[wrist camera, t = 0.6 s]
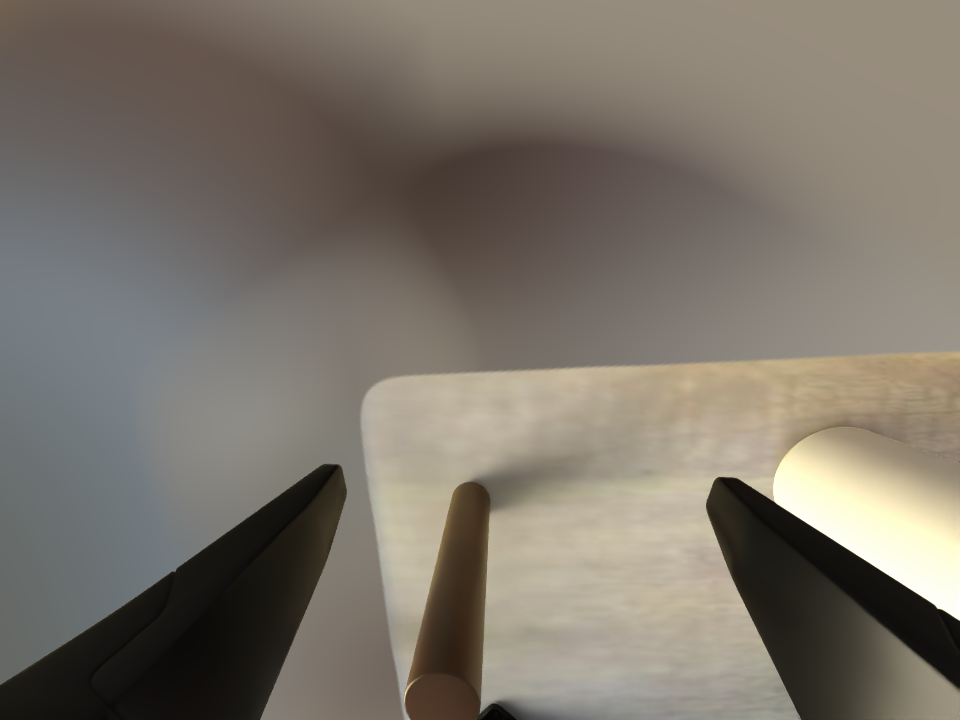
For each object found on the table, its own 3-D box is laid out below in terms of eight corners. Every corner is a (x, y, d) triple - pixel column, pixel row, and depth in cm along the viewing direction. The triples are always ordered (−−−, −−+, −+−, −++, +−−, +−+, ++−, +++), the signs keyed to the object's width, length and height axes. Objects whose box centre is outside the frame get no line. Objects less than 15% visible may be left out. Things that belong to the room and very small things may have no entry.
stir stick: (472, 524, 28) (446, 749, 14) (444, 500, 27) (388, 705, 14) (497, 499, 27) (496, 705, 13) (469, 474, 27) (437, 658, 13)
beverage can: (882, 409, 25) (1235, 510, 13) (897, 517, 26) (1234, 702, 14) (756, 440, 25) (980, 562, 14) (777, 544, 27) (999, 740, 15)
